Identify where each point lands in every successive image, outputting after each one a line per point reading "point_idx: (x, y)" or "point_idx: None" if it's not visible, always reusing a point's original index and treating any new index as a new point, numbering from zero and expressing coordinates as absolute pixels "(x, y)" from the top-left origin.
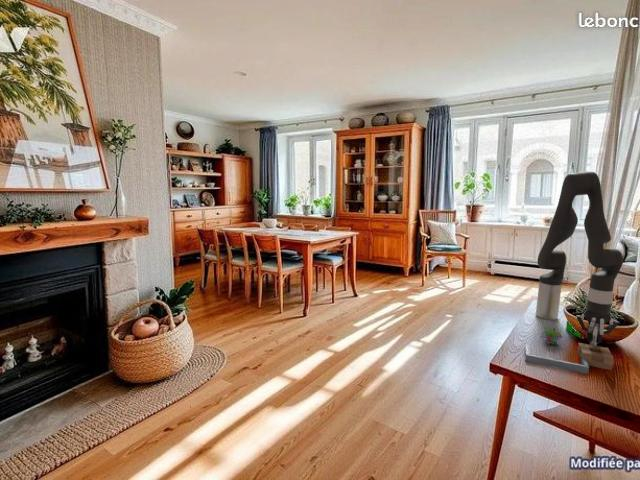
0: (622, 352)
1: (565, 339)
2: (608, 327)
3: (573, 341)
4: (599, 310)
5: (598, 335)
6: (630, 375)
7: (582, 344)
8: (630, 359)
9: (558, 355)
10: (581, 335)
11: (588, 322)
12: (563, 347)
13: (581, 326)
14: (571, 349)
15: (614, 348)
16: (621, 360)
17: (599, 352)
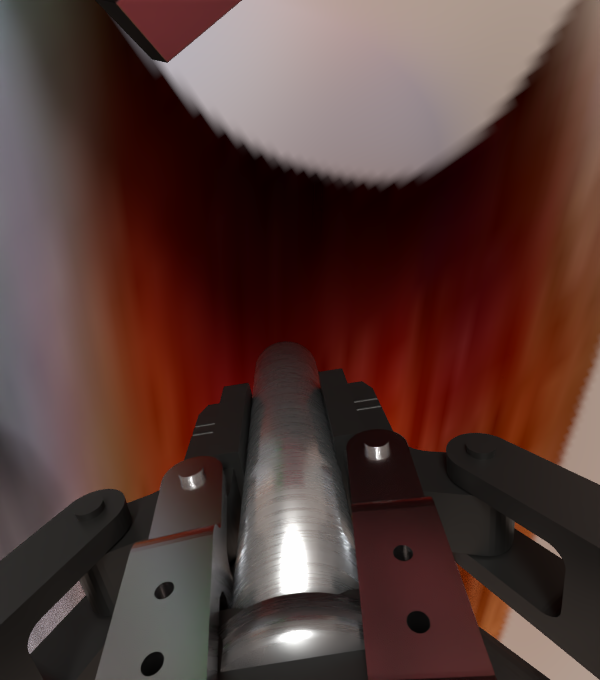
0: (549, 223)
1: (13, 204)
2: (555, 532)
3: (100, 213)
4: None
5: None
6: (488, 617)
7: None
8: (570, 359)
9: (64, 606)
10: (146, 48)
11: (130, 601)
12: (55, 442)
13: (54, 657)
14: (122, 443)
15: (497, 149)
16: (491, 424)
17: None
